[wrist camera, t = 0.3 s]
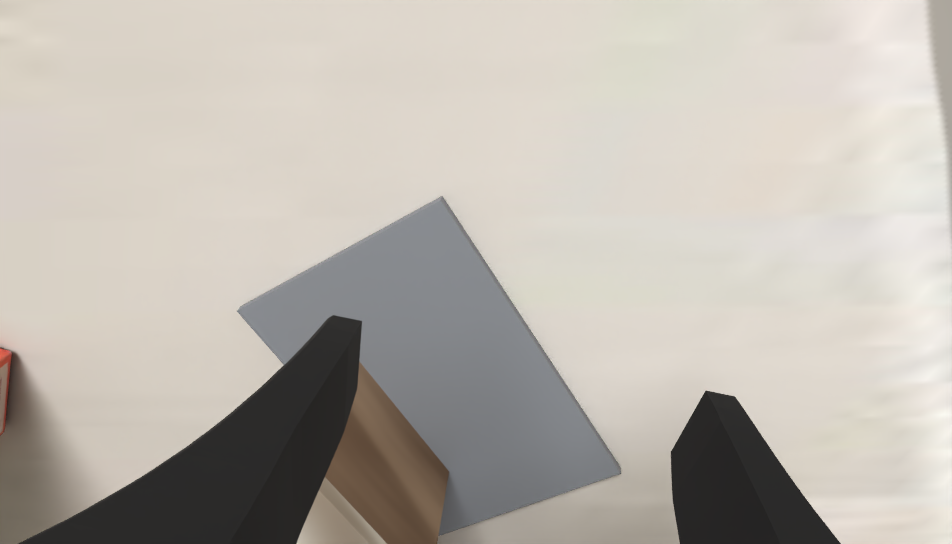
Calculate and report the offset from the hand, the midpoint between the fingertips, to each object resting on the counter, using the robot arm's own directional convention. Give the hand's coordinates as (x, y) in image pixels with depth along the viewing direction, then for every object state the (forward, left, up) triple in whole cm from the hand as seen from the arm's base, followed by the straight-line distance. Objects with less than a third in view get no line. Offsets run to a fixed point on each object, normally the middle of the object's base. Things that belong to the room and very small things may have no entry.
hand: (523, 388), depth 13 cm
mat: (-8, -6, -11) cm, 15 cm away
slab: (-11, -6, -10) cm, 16 cm away
